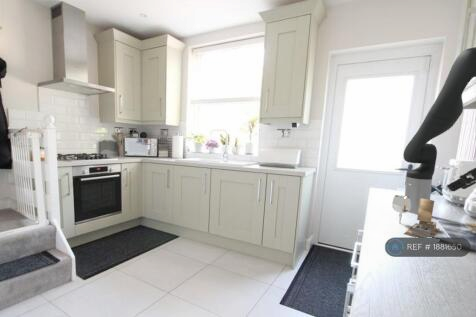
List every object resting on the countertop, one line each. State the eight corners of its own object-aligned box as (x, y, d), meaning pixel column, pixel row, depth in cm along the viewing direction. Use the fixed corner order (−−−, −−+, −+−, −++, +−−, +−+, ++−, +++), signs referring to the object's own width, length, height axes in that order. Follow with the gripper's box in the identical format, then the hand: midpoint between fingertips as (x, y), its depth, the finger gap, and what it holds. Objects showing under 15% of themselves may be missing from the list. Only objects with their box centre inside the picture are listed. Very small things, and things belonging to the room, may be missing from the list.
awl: (416, 232, 76) (421, 198, 77) (429, 236, 74) (435, 201, 74) (413, 232, 74) (419, 197, 75) (427, 236, 71) (433, 200, 72)
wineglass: (402, 230, 81) (405, 199, 81) (387, 225, 87) (389, 195, 86) (412, 228, 84) (415, 198, 83) (396, 223, 89) (399, 194, 88)
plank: (415, 226, 86) (416, 216, 86) (439, 232, 81) (440, 222, 80) (402, 238, 74) (403, 226, 74) (429, 246, 69) (431, 233, 69)
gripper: (512, 143, 62) (453, 176, 73) (498, 141, 55) (435, 179, 66) (541, 163, 58) (474, 196, 69) (530, 164, 51) (457, 200, 62)
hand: (455, 187), depth 67 cm, fingers open, 8 cm apart
